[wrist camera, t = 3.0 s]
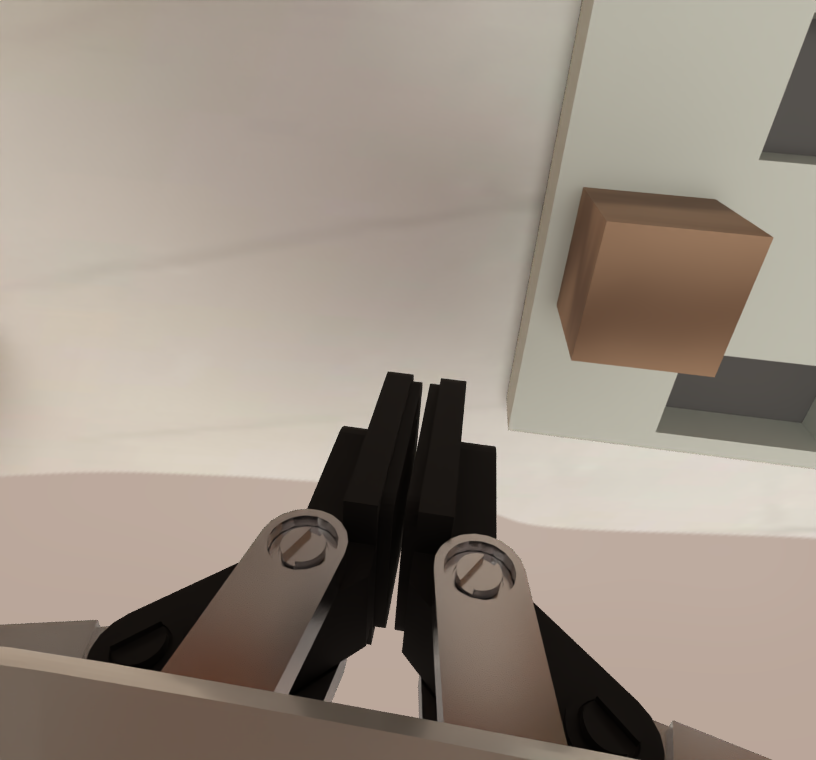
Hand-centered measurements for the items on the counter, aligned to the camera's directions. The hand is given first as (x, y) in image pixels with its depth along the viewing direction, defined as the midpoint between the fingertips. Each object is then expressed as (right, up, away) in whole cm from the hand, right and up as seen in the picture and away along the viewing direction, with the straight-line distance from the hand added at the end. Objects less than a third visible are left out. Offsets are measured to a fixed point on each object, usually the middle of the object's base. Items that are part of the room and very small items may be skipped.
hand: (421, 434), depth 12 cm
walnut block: (+9, +6, +11) cm, 15 cm away
